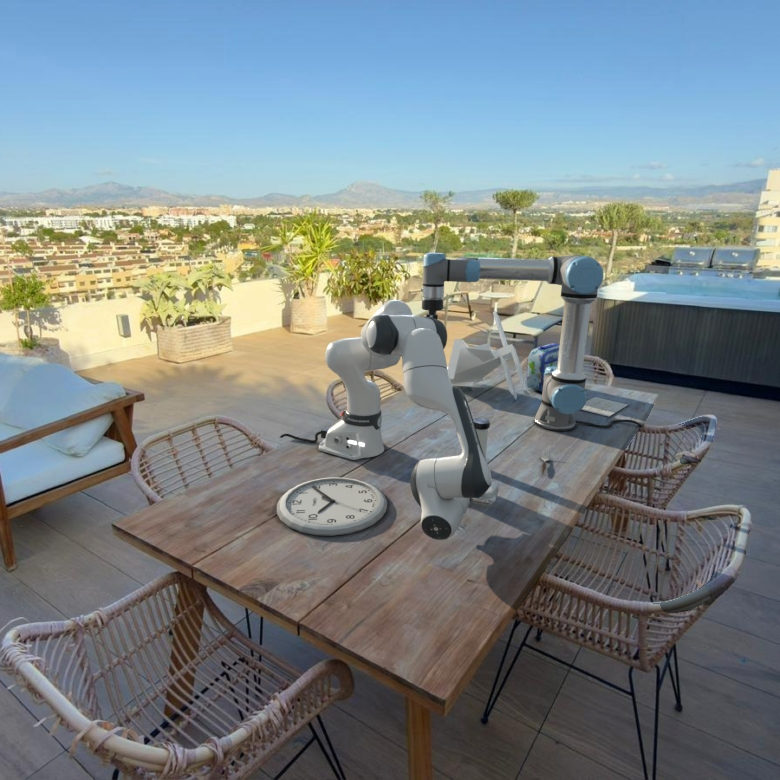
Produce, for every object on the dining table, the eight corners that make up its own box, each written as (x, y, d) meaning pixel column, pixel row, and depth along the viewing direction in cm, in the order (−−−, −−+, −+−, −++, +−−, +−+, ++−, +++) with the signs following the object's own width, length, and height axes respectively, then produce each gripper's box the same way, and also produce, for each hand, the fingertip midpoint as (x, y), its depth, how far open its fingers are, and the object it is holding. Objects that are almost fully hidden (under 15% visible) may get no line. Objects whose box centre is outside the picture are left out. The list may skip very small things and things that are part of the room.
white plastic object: (461, 429, 252) (437, 405, 227) (444, 352, 274) (420, 323, 250) (535, 404, 240) (518, 377, 215) (510, 326, 262) (492, 293, 237)
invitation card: (608, 416, 214) (573, 407, 224) (608, 416, 214) (573, 408, 224) (628, 404, 229) (594, 396, 238) (628, 405, 229) (594, 397, 238)
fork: (538, 474, 162) (538, 468, 162) (542, 454, 177) (542, 449, 176) (546, 475, 162) (547, 470, 161) (550, 455, 176) (550, 450, 175)
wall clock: (392, 527, 129) (268, 531, 127) (391, 533, 130) (269, 537, 127) (383, 473, 158) (282, 475, 155) (383, 478, 158) (282, 480, 156)
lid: (474, 429, 159) (474, 423, 159) (470, 423, 164) (471, 417, 164) (491, 429, 159) (491, 423, 159) (487, 423, 164) (487, 417, 164)
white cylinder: (472, 472, 164) (475, 424, 159) (469, 465, 168) (472, 419, 163) (486, 471, 164) (489, 424, 159) (483, 465, 168) (486, 419, 164)
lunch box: (542, 395, 240) (547, 351, 233) (522, 390, 247) (526, 347, 241) (569, 384, 257) (575, 343, 251) (550, 380, 264) (554, 339, 258)
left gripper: (495, 493, 127) (503, 470, 140) (415, 479, 134) (430, 458, 146) (493, 516, 129) (501, 491, 141) (414, 501, 136) (429, 478, 148)
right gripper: (424, 293, 195) (422, 349, 202) (419, 302, 172) (417, 365, 178) (444, 294, 195) (441, 350, 201) (442, 303, 171) (439, 366, 177)
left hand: (464, 474), depth 144 cm, fingers open, 8 cm apart
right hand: (430, 357), depth 190 cm, fingers open, 13 cm apart
